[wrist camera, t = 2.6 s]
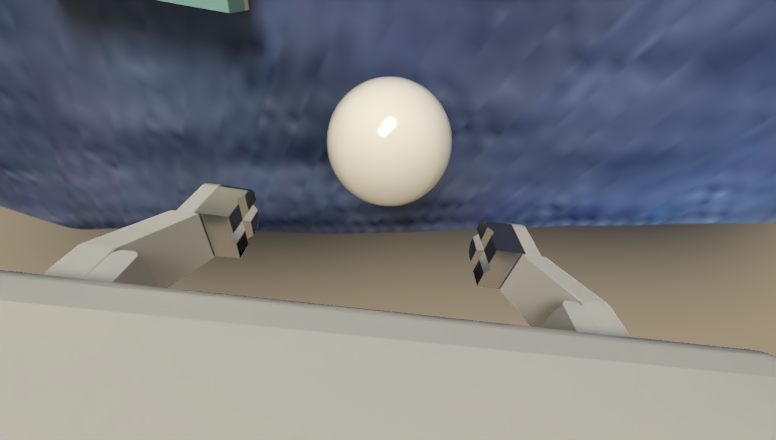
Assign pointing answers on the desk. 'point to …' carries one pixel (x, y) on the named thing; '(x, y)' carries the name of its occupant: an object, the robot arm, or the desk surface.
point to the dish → (215, 4)
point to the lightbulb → (389, 141)
